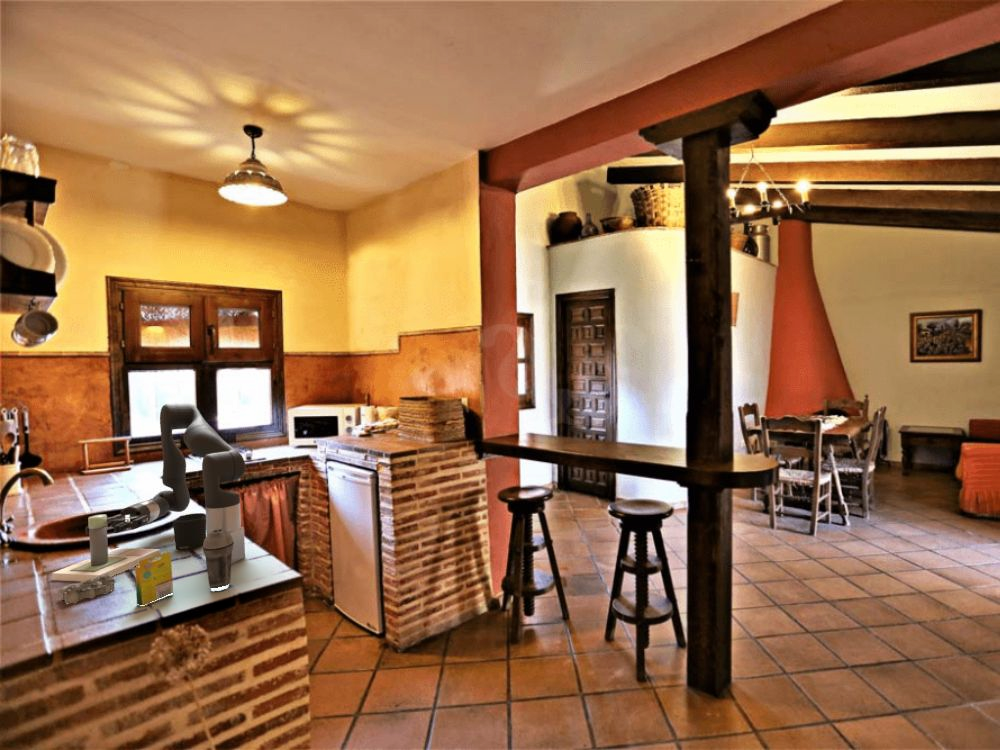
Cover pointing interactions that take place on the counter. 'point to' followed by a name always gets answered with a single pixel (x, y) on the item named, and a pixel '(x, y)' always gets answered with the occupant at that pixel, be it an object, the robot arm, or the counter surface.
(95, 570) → the drawing board
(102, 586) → the egg carton
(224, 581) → the beverage cup
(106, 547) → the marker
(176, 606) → the counter surface
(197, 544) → the pen holder
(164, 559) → the crayon box
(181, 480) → the robot arm
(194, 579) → the counter surface
